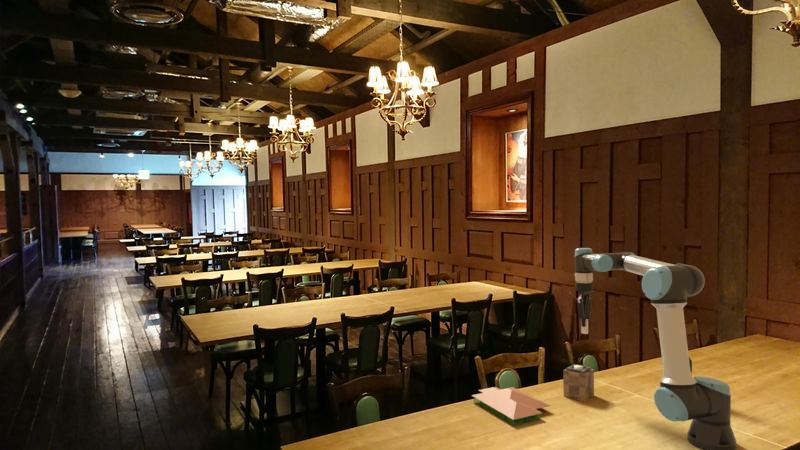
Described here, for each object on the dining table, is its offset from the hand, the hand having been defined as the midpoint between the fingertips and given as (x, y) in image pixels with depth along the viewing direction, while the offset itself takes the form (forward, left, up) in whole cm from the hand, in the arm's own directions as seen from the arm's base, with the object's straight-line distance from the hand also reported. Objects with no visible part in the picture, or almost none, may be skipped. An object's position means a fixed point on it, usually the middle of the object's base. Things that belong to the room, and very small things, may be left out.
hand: (584, 333), depth 232 cm
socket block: (-2, +2, -29) cm, 29 cm away
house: (-34, +19, -30) cm, 49 cm away
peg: (-2, +2, -27) cm, 27 cm away
